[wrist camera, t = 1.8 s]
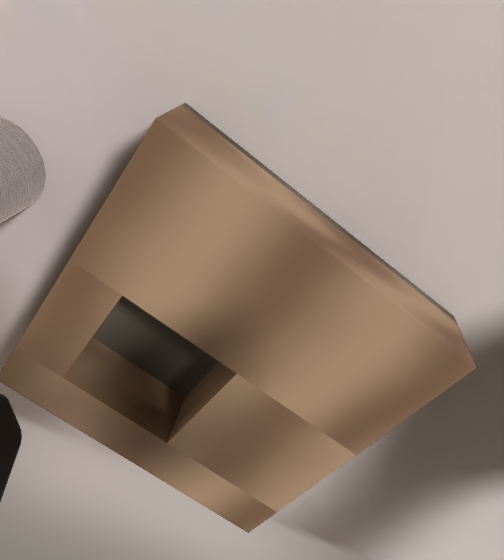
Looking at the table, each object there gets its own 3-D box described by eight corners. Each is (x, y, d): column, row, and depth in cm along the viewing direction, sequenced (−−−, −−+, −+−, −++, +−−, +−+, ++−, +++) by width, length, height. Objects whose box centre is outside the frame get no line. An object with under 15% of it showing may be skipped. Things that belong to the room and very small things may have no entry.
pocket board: (453, 316, 20) (476, 368, 17) (257, 474, 26) (248, 532, 23) (185, 102, 18) (155, 118, 14) (38, 334, 24) (-5, 379, 21)
